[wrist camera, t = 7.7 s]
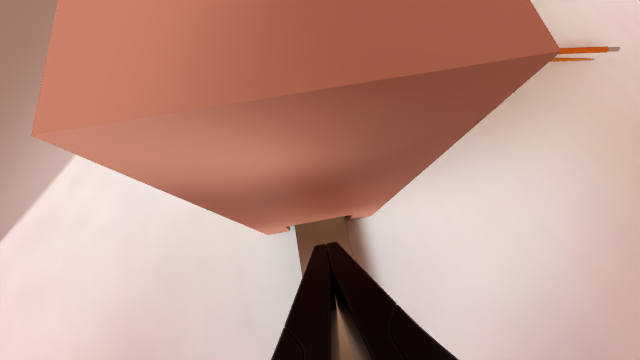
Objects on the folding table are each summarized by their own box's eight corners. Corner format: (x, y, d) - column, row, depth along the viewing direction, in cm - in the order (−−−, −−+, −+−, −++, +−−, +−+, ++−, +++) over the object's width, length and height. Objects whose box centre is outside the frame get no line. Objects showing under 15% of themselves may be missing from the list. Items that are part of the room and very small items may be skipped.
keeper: (371, 215, 16) (560, 50, 3) (267, 234, 16) (30, 135, 3) (354, 148, 18) (441, -146, 5) (259, 165, 18) (78, -103, 5)
